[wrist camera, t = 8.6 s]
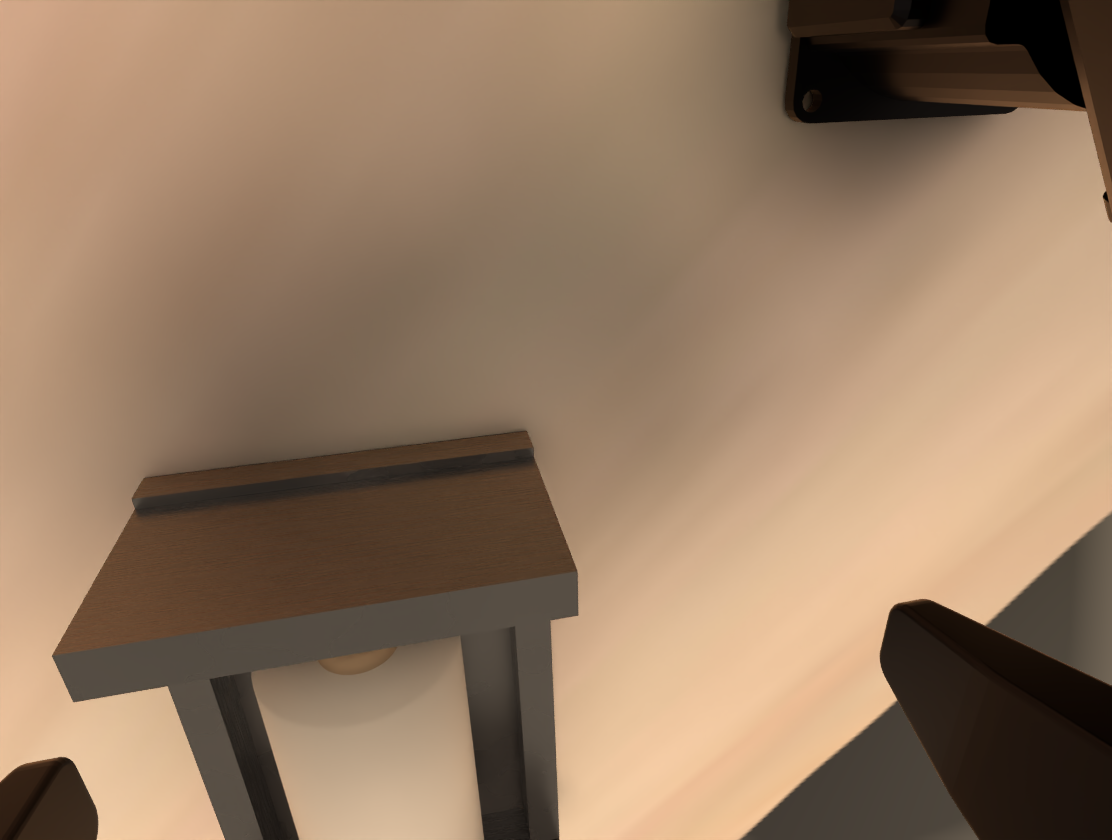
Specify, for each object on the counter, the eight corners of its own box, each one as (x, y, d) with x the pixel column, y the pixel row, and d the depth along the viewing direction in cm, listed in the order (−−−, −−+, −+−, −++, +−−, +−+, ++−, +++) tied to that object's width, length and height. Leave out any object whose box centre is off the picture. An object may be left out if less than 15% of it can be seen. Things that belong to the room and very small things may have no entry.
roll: (268, 577, 19) (222, 728, 15) (453, 554, 20) (463, 692, 16) (331, 815, 24) (310, 986, 19) (480, 789, 24) (494, 948, 20)
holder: (526, 431, 20) (577, 559, 15) (546, 802, 27) (584, 978, 22) (143, 478, 18) (46, 643, 13) (272, 862, 25) (242, 1068, 20)
